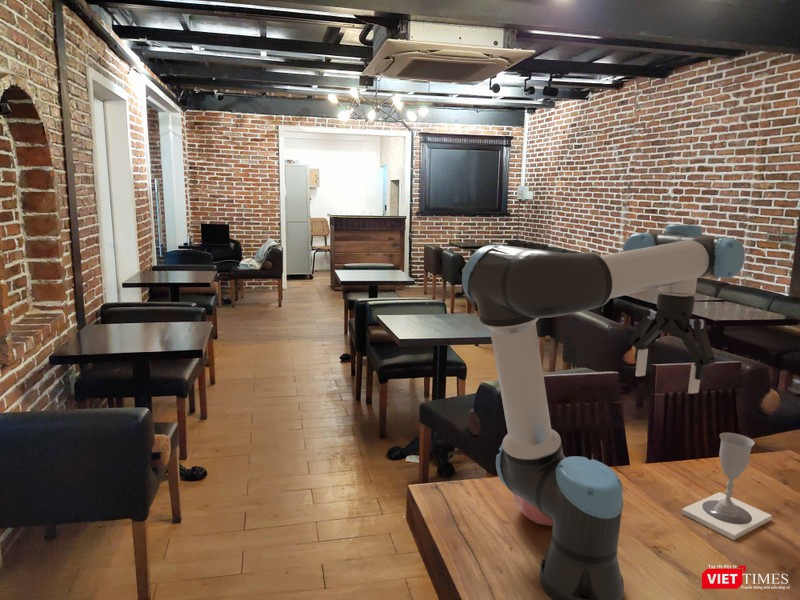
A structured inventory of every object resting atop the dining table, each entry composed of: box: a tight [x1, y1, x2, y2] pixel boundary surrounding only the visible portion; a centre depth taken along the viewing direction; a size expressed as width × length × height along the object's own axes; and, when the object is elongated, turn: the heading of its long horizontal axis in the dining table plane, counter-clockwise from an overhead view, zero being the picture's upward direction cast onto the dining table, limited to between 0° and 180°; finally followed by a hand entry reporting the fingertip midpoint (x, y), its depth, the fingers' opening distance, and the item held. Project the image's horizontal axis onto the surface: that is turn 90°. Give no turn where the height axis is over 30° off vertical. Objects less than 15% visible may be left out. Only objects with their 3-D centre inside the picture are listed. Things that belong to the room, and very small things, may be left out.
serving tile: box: [680, 491, 773, 541], centre depth 129 cm, size 16×12×1 cm
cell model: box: [512, 492, 553, 528], centre depth 126 cm, size 17×20×11 cm
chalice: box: [714, 432, 756, 518], centre depth 127 cm, size 7×7×18 cm
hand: (665, 383), depth 128 cm, fingers open, 13 cm apart
